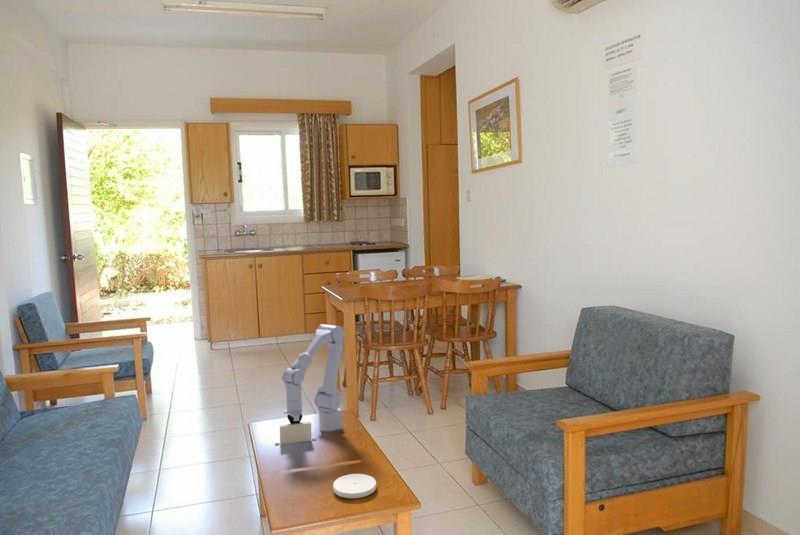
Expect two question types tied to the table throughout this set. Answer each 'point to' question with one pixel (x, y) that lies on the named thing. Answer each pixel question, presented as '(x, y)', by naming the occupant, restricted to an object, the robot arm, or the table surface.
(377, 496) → the table surface
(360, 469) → the table surface
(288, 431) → the flap
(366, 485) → the plastic lid
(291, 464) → the table surface
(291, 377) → the robot arm
